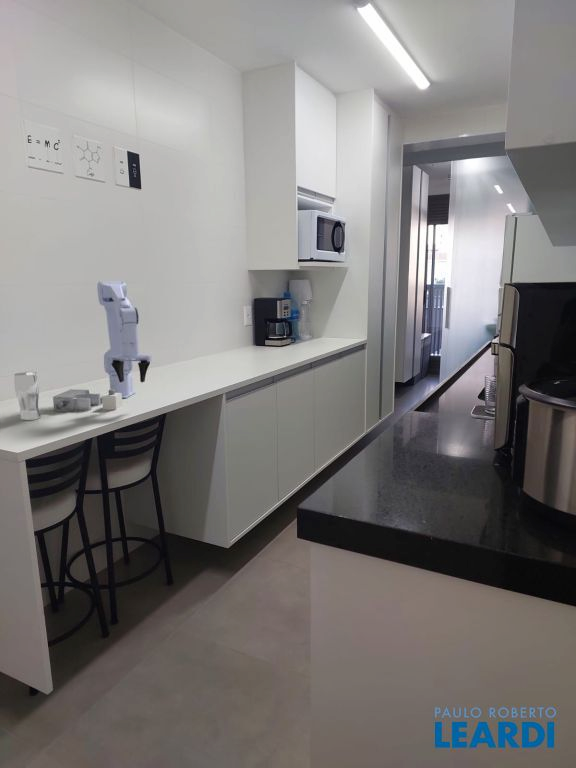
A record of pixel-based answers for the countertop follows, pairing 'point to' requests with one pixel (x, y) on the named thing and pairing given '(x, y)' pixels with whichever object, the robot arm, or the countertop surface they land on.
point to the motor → (75, 400)
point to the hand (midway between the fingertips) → (132, 381)
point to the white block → (112, 400)
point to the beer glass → (27, 395)
